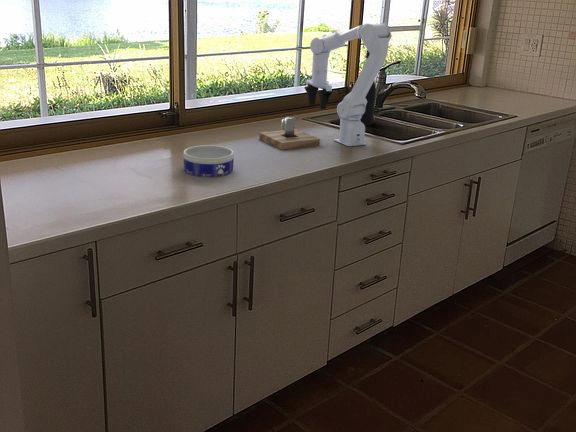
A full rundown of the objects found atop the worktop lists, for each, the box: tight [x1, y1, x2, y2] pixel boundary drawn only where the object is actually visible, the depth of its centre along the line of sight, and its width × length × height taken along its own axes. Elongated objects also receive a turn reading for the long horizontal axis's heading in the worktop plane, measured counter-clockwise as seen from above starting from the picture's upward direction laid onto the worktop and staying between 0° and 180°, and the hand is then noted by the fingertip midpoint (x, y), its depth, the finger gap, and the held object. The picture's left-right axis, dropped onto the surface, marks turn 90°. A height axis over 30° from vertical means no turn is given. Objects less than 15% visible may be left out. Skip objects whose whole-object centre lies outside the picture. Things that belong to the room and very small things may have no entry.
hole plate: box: [258, 128, 321, 151], centre depth 232 cm, size 16×16×2 cm
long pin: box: [284, 116, 296, 138], centre depth 231 cm, size 4×4×9 cm
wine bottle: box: [360, 49, 377, 126], centre depth 263 cm, size 6×6×30 cm
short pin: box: [280, 118, 285, 131], centre depth 246 cm, size 4×4×5 cm
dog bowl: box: [182, 144, 235, 178], centre depth 196 cm, size 15×15×6 cm
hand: (317, 106), depth 244 cm, fingers open, 7 cm apart
